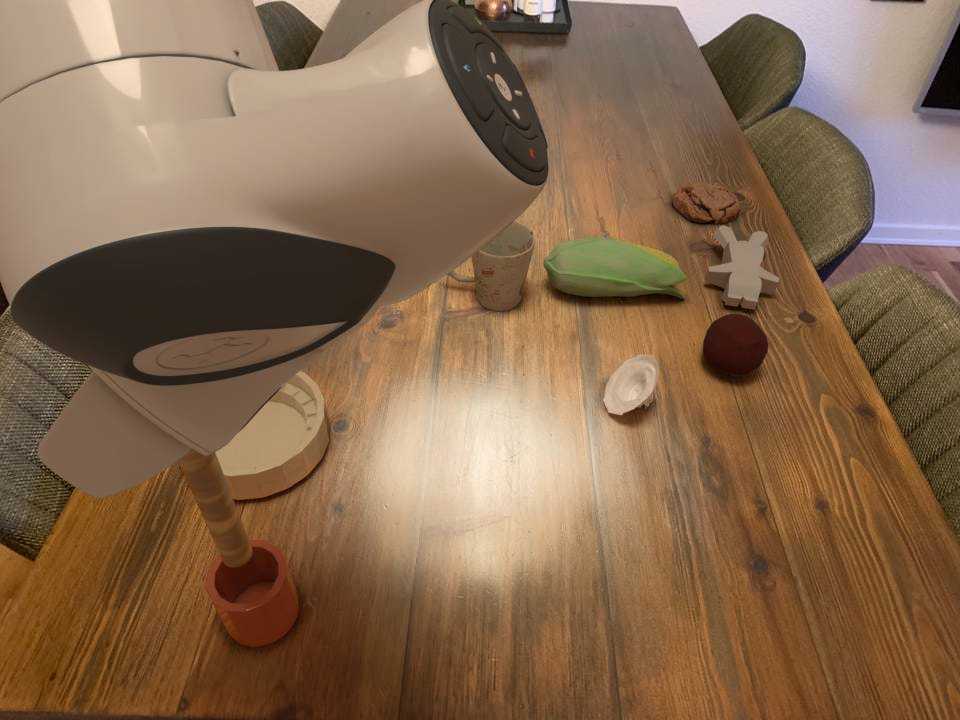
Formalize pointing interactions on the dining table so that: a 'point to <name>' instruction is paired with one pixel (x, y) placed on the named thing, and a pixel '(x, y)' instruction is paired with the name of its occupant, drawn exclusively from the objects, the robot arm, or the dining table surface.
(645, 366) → the seashell
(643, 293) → the corn
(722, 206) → the cookie
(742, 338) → the dark maroon ball
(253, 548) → the utensil pot
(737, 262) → the bunny figurine
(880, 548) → the dining table surface
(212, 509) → the stick
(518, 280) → the mug
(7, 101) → the robot arm
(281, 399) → the bowl
